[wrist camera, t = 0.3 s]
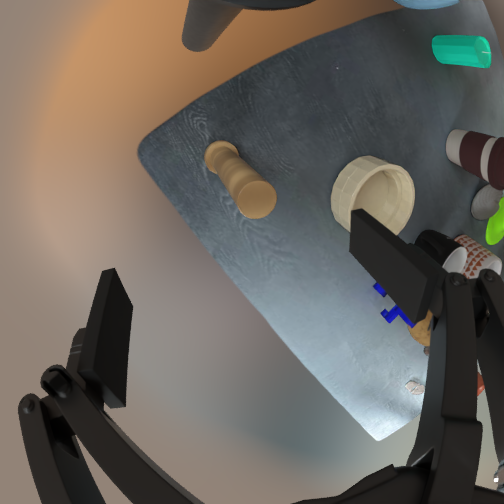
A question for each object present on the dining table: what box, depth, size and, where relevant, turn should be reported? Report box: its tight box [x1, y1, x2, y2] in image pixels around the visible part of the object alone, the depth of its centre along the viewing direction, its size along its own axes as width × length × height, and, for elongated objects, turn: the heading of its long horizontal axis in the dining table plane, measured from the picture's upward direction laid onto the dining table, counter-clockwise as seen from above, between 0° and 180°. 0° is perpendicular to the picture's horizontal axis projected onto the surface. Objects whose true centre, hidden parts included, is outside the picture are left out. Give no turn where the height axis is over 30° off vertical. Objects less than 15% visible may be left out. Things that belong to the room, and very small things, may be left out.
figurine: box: [373, 283, 417, 328], centre depth 54 cm, size 8×8×12 cm
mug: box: [414, 230, 467, 273], centre depth 52 cm, size 12×9×10 cm
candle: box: [432, 35, 491, 68], centre depth 31 cm, size 6×6×12 cm
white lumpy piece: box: [405, 381, 424, 395], centre depth 100 cm, size 6×28×1 cm, turn 45°
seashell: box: [471, 184, 502, 220], centre depth 54 cm, size 12×6×10 cm
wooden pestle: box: [204, 140, 277, 219], centre depth 31 cm, size 4×4×18 cm
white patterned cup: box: [454, 235, 502, 279], centre depth 58 cm, size 14×14×13 cm
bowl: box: [331, 156, 415, 235], centre depth 44 cm, size 13×13×6 cm
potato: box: [407, 310, 433, 346], centre depth 66 cm, size 9×16×9 cm, turn 33°
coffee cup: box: [446, 129, 504, 191], centre depth 41 cm, size 10×10×15 cm
